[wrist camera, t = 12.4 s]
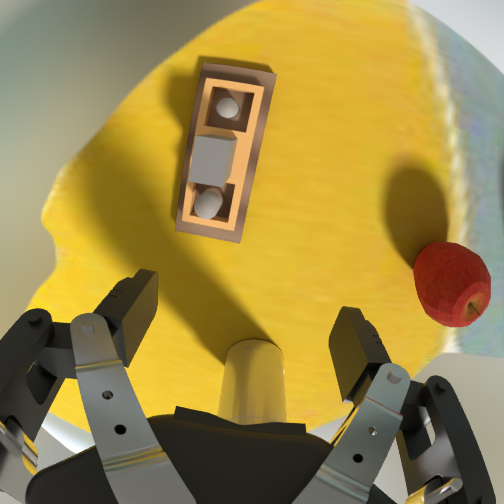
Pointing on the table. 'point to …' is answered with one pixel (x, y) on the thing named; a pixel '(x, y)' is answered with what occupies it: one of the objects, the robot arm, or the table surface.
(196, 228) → the pin board
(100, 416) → the robot arm
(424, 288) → the apple
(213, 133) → the hole bar
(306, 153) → the table surface
